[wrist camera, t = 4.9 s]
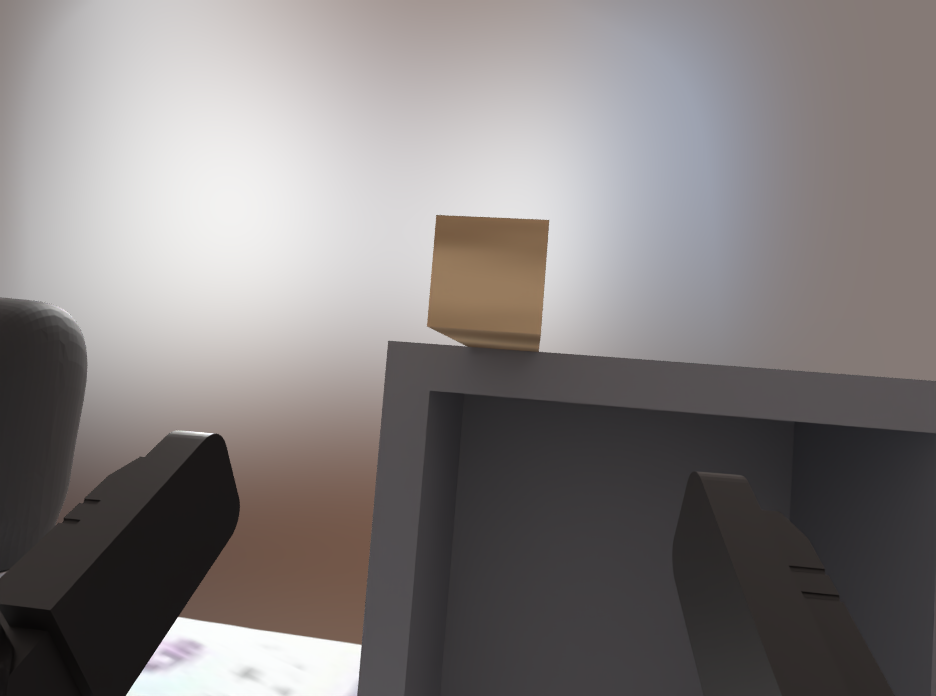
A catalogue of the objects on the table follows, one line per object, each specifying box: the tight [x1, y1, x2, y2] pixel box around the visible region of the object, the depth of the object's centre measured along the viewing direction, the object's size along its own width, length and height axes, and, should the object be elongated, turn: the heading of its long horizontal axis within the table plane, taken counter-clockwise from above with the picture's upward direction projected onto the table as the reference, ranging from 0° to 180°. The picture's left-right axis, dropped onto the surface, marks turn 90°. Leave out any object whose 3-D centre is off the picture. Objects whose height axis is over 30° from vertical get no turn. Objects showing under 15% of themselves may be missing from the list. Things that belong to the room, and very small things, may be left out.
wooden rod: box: [427, 215, 549, 352], centre depth 25 cm, size 22×3×3 cm, turn 173°
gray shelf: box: [357, 341, 936, 696], centre depth 29 cm, size 14×24×32 cm, turn 83°
